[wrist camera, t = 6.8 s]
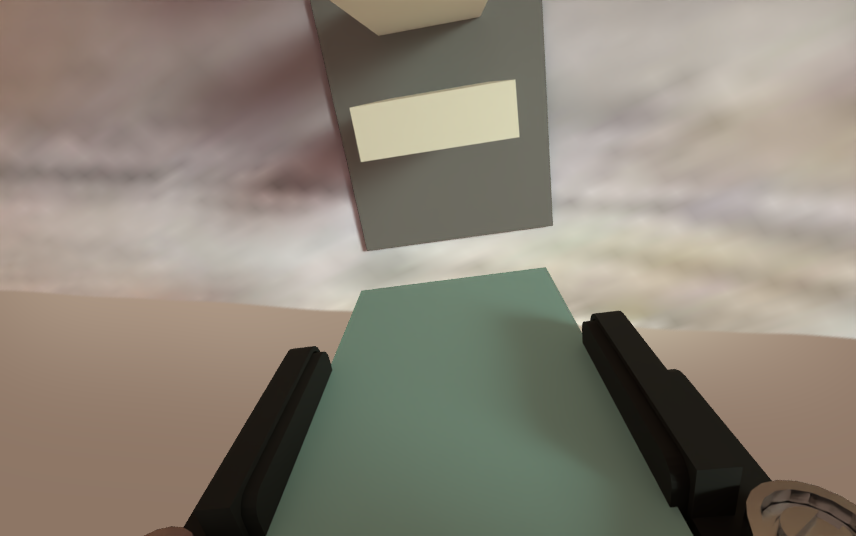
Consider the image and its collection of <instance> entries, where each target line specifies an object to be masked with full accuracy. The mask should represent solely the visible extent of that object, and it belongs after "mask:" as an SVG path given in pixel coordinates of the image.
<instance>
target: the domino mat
mask: <svg viewBox="0 0 856 536" xmlns="http://www.w3.org/2000/svg"><path fill="white" fill-rule="evenodd" d="M310 2H311V6H312V11H313V15H314V19H315V24H316V28H317V33H318V37H319V41H320V46H321V50H322V55H323V59H324V63H325V68H326V72H327V76H328V81H329V85H330V90H331V94H332V98H333V103H334V107H335V112H336V116H337V120H338V125H339V129H340V133H341V138H342V142H343V147H344V151H345V155H346V160H347V164H348V169H349V173H350V177H351V182H352V186H353V191H354V195H355V199H356V204H357V208H358V212H359V217H360V221H361V226H362V230H363V234H364V239H365V243H366V248H367V251H370V250H377V249H385V248H392V247H399V246H407V245H414V244H421V243H429V242H436V241H443V240H451V239H458V238H465V237H472V236H480V235H487V234H494V233H502V232H509V231H516V230H524V229H531V228H538V227H546V226H553V218H552V198H551V177H550V156H549V135H548V115H547V94H546V73H545V52H544V32H543V11H542V0H488V1H487V3H486V5H485V7H484V9H483V12H482V14H481V16H480V17H477V18H471V19H466V20H461V21H455V22H450V23H444V24H439V25H434V26H428V27H423V28H418V29H412V30H407V31H402V32H396V33H391V34H386V35H380V36H378V35H377V34H375V33H374V32H373V31H371V30H370V29H368V28H367V27H366V26H364V25H363V24H362V23H360V22H359V21H357V20H356V19H355V18H353V17H352V16H351V15H349V14H348V13H346V12H345V11H344V10H342V9H341V8H340V7H338V6H337V5H335V4H334V3H333V2H331V1H330V0H310ZM514 79H515V82H516V95H517V109H518V122H519V136H520V137H517V138H510V139H504V140H498V141H491V142H485V143H479V144H472V145H466V146H460V147H453V148H447V149H441V150H434V151H428V152H422V153H415V154H409V155H403V156H396V157H390V158H384V159H377V160H371V161H365V162H361V160H360V155H359V150H358V146H357V141H356V137H355V132H354V127H353V123H352V118H351V113H350V109H349V108H351V107H355V106H359V105H364V104H368V103H373V102H377V101H381V100H386V99H390V98H396V97H402V96H408V95H414V94H420V93H425V92H431V91H437V90H443V89H449V88H455V87H460V86H466V85H472V84H478V83H484V82H492V81H503V80H514Z"/></svg>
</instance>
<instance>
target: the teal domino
mask: <svg viewBox="0 0 856 536" xmlns="http://www.w3.org/2000/svg"><path fill="white" fill-rule="evenodd" d="M331 367H332V372H331V375H330V377H329V380H328V382H327V385H326V387H325V390H324V392H323V395H322V397H321V400H320V402H319V405H318V407H317V410H316V412H315V415H314V417H313V420H312V422H311V425H310V427H309V430H308V432H307V435H306V437H305V440H304V442H303V445H302V447H301V450H300V452H299V455H298V457H297V460H296V462H295V465H294V467H293V470H292V472H291V475H290V477H289V480H288V482H287V485H286V487H285V490H284V492H283V495H282V497H281V500H280V502H279V505H278V507H277V510H276V512H275V515H274V517H273V520H272V522H271V525H270V527H269V530H268V532H267V535H266V536H693V534H692V532H691V531H690V529H689V527H688V525H687V523H686V522H685V520H684V518H683V516H682V514H681V512H680V511H679V509H678V507H671V508H670V506H669V505H668V503H667V501H666V499H665V497H664V495H663V493H662V491H661V490H660V488H659V486H658V484H657V482H656V480H655V478H654V476H653V474H652V473H651V471H650V469H649V467H648V465H647V463H646V461H645V459H644V457H643V456H642V454H641V452H640V450H639V448H638V446H637V444H636V442H635V441H634V439H633V437H632V435H631V433H630V431H629V429H628V427H627V425H626V424H625V422H624V420H623V418H622V416H621V414H620V412H619V410H618V409H617V407H616V405H615V403H614V401H613V399H612V397H611V395H610V393H609V392H608V390H607V388H606V386H605V384H604V382H603V380H602V378H601V377H600V375H599V373H598V371H597V369H596V367H595V365H594V363H593V361H592V360H591V358H590V356H589V354H588V352H587V350H586V348H585V346H584V345H583V343H582V332H581V331H580V329H579V327H578V325H577V323H576V321H575V320H574V318H573V316H572V314H571V312H570V311H569V309H568V307H567V305H566V303H565V301H564V300H563V298H562V296H561V294H560V292H559V291H558V289H557V287H556V285H555V283H554V281H553V280H552V278H551V276H550V274H549V272H548V271H547V269H546V267H545V268H537V269H529V270H522V271H514V272H506V273H498V274H490V275H482V276H474V277H466V278H458V279H451V280H443V281H435V282H427V283H419V284H411V285H403V286H395V287H387V288H380V289H372V290H364V291H361V293H360V296H359V298H358V301H357V303H356V306H355V308H354V310H353V313H352V315H351V318H350V320H349V322H348V325H347V327H346V330H345V332H344V335H343V337H342V339H341V342H340V344H339V347H338V349H337V351H336V354H335V356H334V359H333V361H332V364H331Z"/></svg>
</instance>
